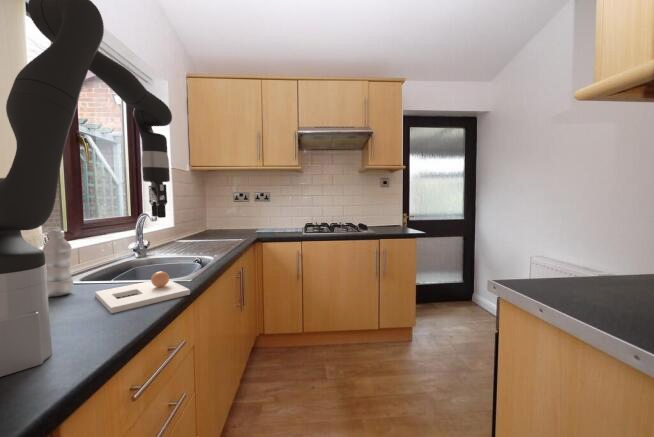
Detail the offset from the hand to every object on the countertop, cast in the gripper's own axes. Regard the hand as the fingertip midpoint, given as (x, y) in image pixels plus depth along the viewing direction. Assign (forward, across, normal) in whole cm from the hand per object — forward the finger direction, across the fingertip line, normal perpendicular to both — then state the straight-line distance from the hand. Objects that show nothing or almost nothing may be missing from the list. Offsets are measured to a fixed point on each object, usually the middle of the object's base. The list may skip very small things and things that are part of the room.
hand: (158, 216), depth 96 cm
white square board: (+24, -5, +6) cm, 25 cm away
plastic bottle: (+24, +13, +26) cm, 37 cm away
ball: (+20, -4, +1) cm, 20 cm away
